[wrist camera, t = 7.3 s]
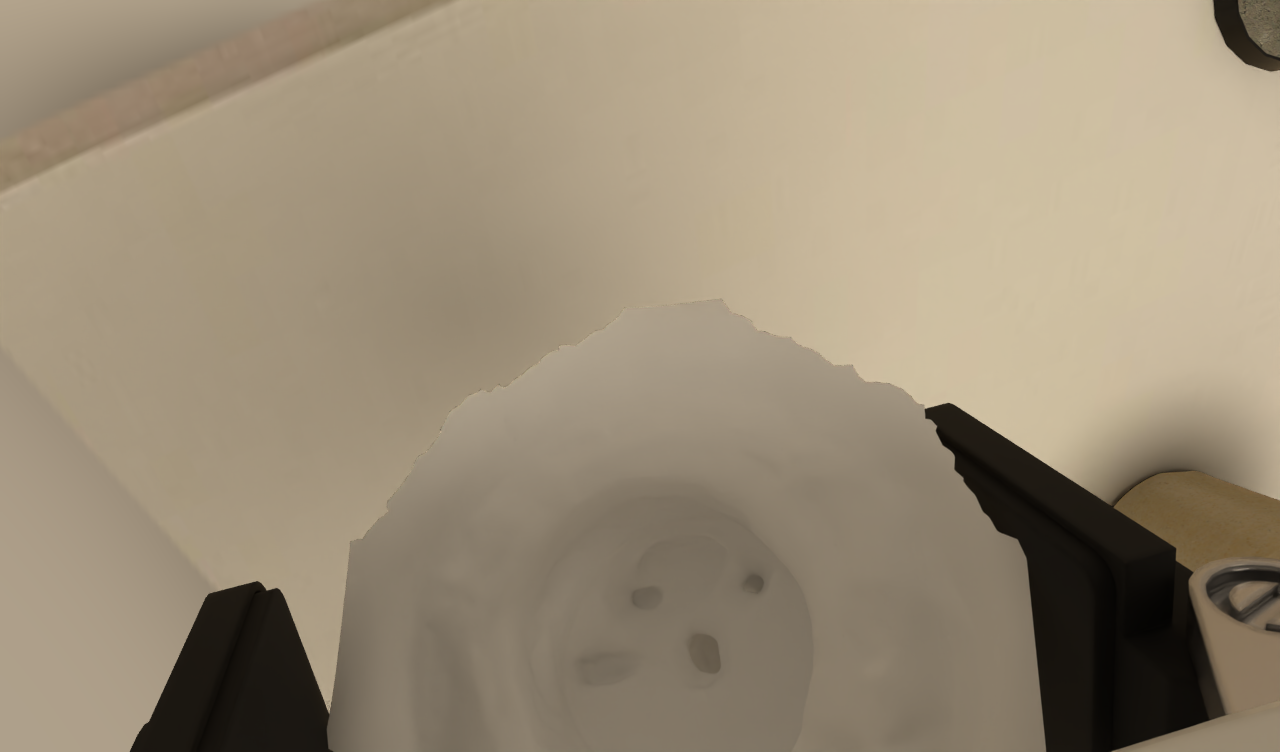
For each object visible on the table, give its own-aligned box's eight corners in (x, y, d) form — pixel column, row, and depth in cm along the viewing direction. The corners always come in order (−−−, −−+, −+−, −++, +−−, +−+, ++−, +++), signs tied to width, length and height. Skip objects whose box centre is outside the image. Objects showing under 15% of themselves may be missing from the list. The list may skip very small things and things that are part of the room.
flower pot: (1131, 399, 34) (1344, 502, 26) (1297, 463, 36) (1535, 574, 28) (1016, 603, 36) (1179, 756, 28) (1181, 649, 39) (1371, 800, 31)
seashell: (563, 513, 16) (427, 1036, 12) (409, 333, 13) (118, 990, 8) (1023, 496, 13) (1094, 1203, 9) (994, 249, 10) (1092, 1255, 5)
